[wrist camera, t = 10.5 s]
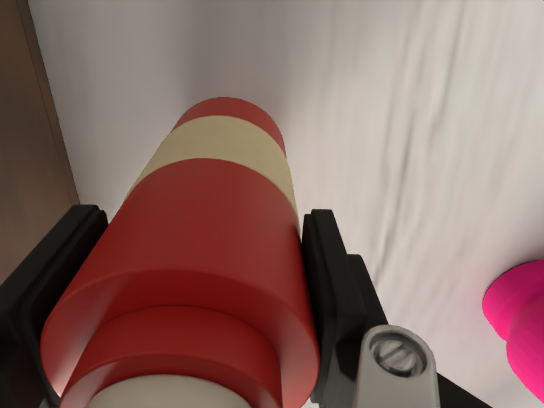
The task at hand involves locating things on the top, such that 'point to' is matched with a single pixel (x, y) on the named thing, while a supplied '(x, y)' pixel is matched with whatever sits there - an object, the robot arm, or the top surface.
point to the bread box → (27, 143)
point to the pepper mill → (520, 321)
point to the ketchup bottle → (194, 280)
